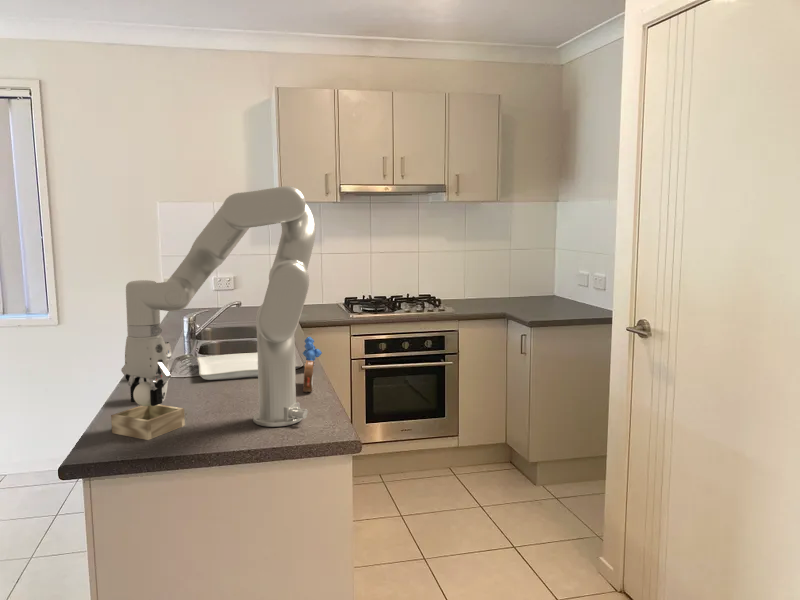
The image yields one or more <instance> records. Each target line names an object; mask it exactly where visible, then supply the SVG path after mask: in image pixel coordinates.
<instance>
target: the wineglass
mask: <svg viewBox="0 0 800 600" xmlns="http://www.w3.org/2000/svg"><path fill="white" fill-rule="evenodd" d="M164 343H165V348H166V355H167V362H169V360H170V359H171V358H172V347H171V344H170V342H169V341H164ZM169 380H171V377H170V378H169Z"/></svg>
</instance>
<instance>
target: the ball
mask: <svg viewBox="0 0 800 600" xmlns="http://www.w3.org/2000/svg"><path fill="white" fill-rule="evenodd" d="M150 390H153V389H152V386H151V383H150V382H142V383H140V384H139V385H137V386H136V388H135V389H134V392H133V397H134V400H135V401H136V402H135V403H136V404H137V405H138V406H150V405H151V399H150Z"/></svg>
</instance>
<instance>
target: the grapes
mask: <svg viewBox="0 0 800 600" xmlns="http://www.w3.org/2000/svg"><path fill="white" fill-rule="evenodd" d="M304 343H305V344H304V348H305V350H304V351H303V352H302V354H303V356H304V357H305V362H304V364H305V363H306V360H308V361H314V367H315V363H316V362H315V360H316V358H319V357H321V355H322V354H323V352H322V351H321V349H319V348H316V346H315V345H314V343H315V340H314V338H312V336H308V337H306V338H305V339H304Z"/></svg>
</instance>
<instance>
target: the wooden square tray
mask: <svg viewBox="0 0 800 600" xmlns="http://www.w3.org/2000/svg"><path fill="white" fill-rule="evenodd" d="M185 416H186V414H185V408H183V407H176V406H170V405H164V404H158V405H155V406H151V405H150V406H141V405H138V406H136V407H133V408H129V409H126V410H123V411H120V412H117V413H114V414H110V417H111V418H110V420H111V421H110V422H111V434H116V435H120V436H124V437H125V436H126V437H131V438H135V439H141V440H146V441H150V440H152V439H155V438H157V437H160V436H162V435H164V434H167V433H169V432H172V431H176V430H177V429H181V428H183V427H185V426H186V421H185V420H186V419H185V418H186V417H185Z"/></svg>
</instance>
